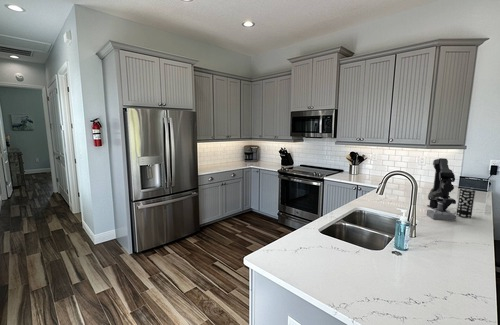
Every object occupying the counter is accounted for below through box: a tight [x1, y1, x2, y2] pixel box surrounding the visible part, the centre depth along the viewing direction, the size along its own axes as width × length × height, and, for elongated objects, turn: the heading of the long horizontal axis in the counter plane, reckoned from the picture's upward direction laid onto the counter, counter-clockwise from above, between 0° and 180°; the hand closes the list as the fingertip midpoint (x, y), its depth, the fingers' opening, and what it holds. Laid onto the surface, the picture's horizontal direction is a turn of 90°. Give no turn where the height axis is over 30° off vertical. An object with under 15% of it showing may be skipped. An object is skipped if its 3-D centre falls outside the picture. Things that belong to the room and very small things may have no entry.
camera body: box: [426, 208, 457, 222], centre depth 172 cm, size 9×14×6 cm, turn 78°
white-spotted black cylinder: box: [455, 188, 476, 219], centre depth 175 cm, size 8×8×20 cm
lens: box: [437, 201, 447, 212], centre depth 171 cm, size 5×5×7 cm
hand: (441, 209), depth 171 cm, fingers closed on lens, 5 cm apart
